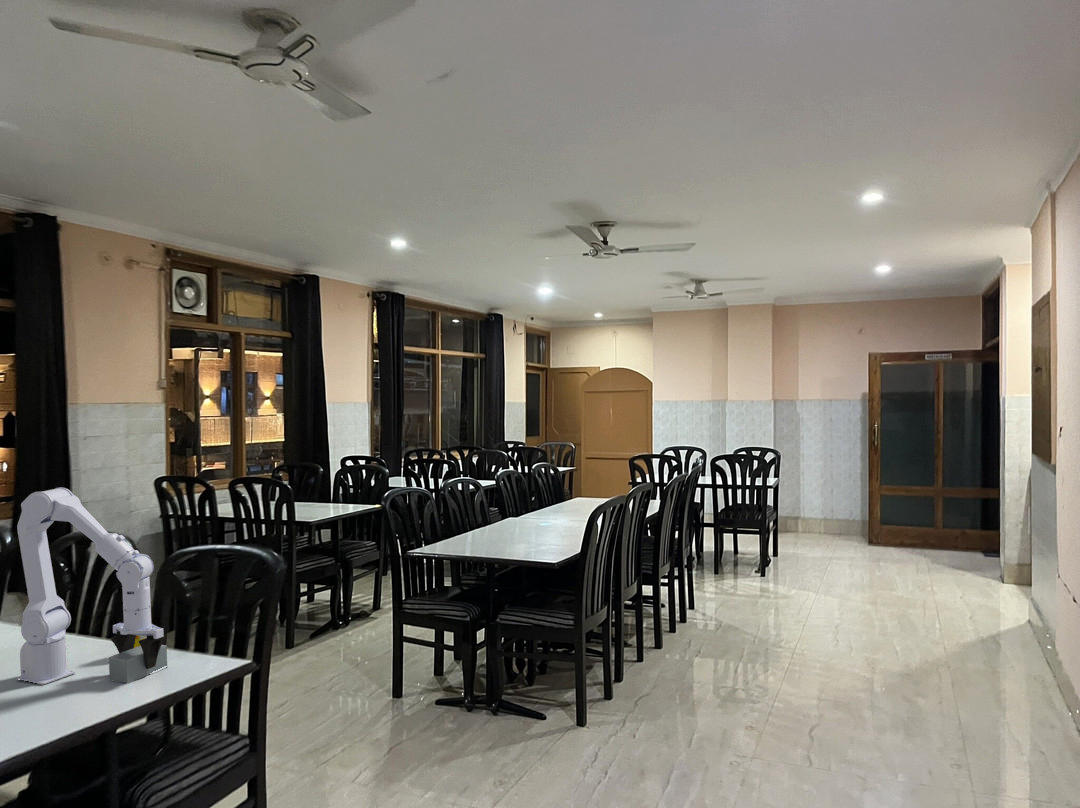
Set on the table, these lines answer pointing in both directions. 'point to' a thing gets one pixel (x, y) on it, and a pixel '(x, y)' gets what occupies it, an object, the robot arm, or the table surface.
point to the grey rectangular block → (134, 664)
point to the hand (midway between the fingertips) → (139, 665)
